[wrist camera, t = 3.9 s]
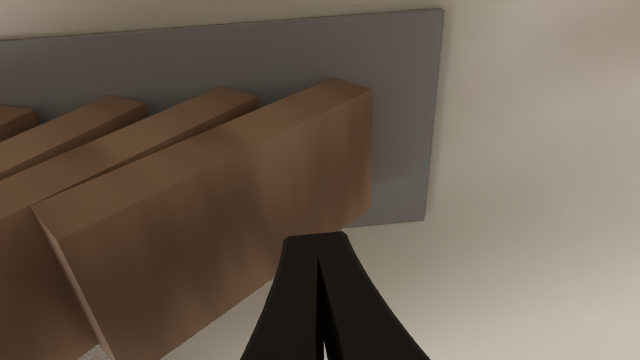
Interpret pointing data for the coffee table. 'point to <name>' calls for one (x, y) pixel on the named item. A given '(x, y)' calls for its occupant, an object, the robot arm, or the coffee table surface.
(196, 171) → the walnut tile
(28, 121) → the walnut tile
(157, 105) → the grey flat rectangular plate
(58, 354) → the walnut tile
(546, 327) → the coffee table surface
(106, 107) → the walnut tile
